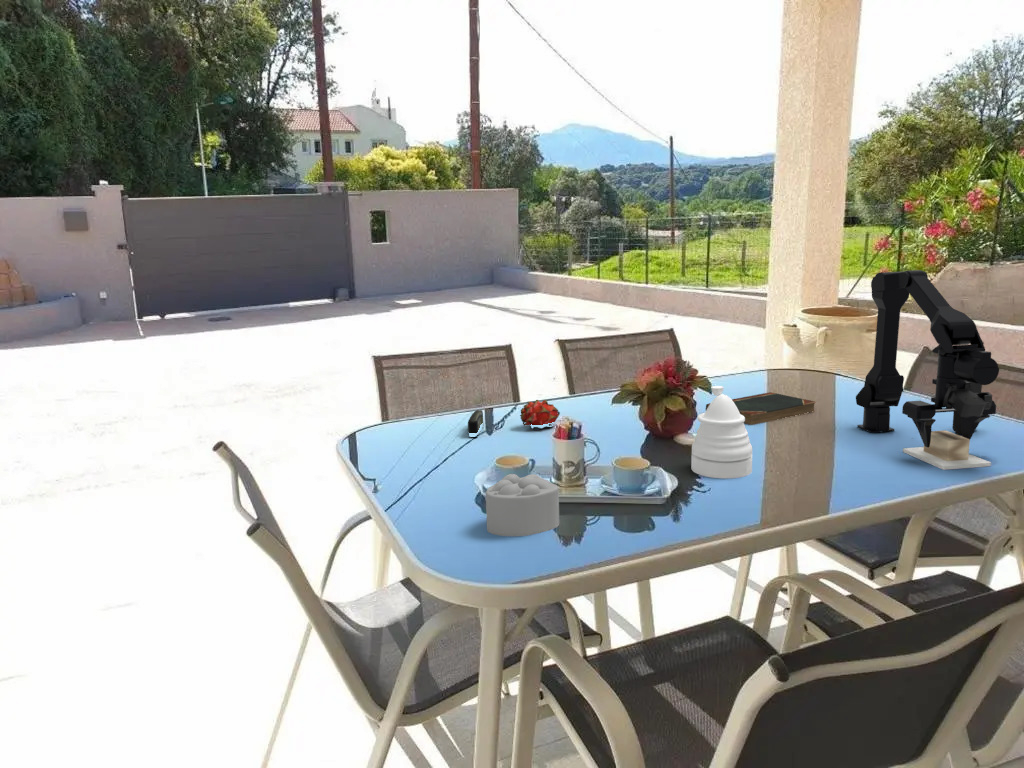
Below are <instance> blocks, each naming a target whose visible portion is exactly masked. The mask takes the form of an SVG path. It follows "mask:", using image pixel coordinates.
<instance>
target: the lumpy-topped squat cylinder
mask: <svg viewBox="0 0 1024 768" xmlns="http://www.w3.org/2000/svg"><path fill="white" fill-rule="evenodd" d="M559 500H560V497H559V486H558V485H557V484H556V483H552V482H551V481H549V480H547V479H545V478H543V477H541V476H539V475H538V474H535V473H533V474H528V475H525V476H523V477H520V476H518V475H517V474H514V473H509V474H507V475H505V476H503V477H502V478H501V480H498V481H497V482H496V483H495V484H493V485H491V486H489V487H488V488H487V489H486V491H485V508H486V513H485V514H486V530H487V532H488V533H489V534H492V535H493V536H500V537H501V536H502V537H527V536H533V535H536V534H541V533H545V532H547V531H551V530H554V529H557V528H558V526H560V501H559Z"/></svg>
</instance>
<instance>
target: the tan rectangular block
mask: <svg viewBox="0 0 1024 768" xmlns="http://www.w3.org/2000/svg"><path fill="white" fill-rule="evenodd" d="M970 441H971V439H967V438H965V437H962V435H958V434H956V433H954V432H951V431H949V430H946V429H945V430H934V431H933V430H931V442H930V446H929V448H927V447H925V446H924V445H923V447H924V452H927V453H929V454H931V455H934V456H936V457H938V458H941V459H943V460H945V461H955V460H968V456H969V454H970V445H971V442H970Z"/></svg>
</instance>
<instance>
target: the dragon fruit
mask: <svg viewBox="0 0 1024 768" xmlns="http://www.w3.org/2000/svg"><path fill="white" fill-rule="evenodd" d="M560 414H561V412H560V411H559V409H558V408H557V407H555V406H554V404H551V403H549V402H548V401H547V399H544V400H543V401H540V400H539V399H536V400H534V401H533V402H532V401H527V402H526V404H524V405H523V407H522V408H521V409H520V415H519V416H520V420H521V422H522V425H523V426H525V425H529V426H530V425H531V424H532V425H543V424H548V423H552V422H554V423H555V422H556V421H557V419H558V418H559V417H560ZM552 424H553V423H552Z"/></svg>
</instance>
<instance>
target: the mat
mask: <svg viewBox="0 0 1024 768" xmlns="http://www.w3.org/2000/svg"><path fill="white" fill-rule="evenodd" d="M902 452H903V453H904V454H907V455H908V456H909V455H910V456H911V457H914V458H915V459H917V460H921V461H922V462H925V463H928V464H929V465H932V466H934V467H935V468H937V469H938V468H939V469H941V470H943V471H946V470H958V469H959V470H960V469H972V468H985V467H991V466H992V462H991V461H988V460H986V459H984V458H981V457H979V456H975V455H973V454H970V453H969V456H968V460H955V461H945V460H943V459H941V458H938V457H936V456H934V455H931V454H929V453H927V452H924V446H921V447H920V446H919V447H906V448H902Z"/></svg>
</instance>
